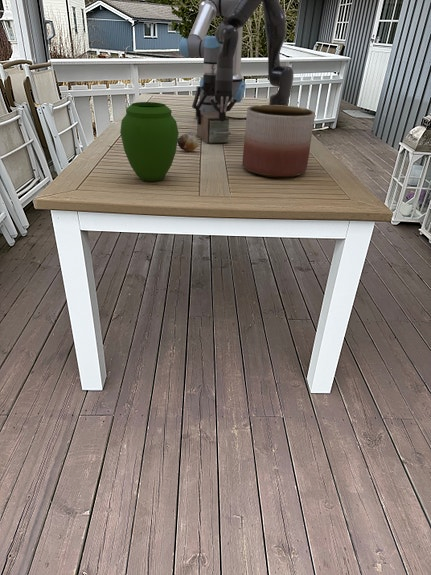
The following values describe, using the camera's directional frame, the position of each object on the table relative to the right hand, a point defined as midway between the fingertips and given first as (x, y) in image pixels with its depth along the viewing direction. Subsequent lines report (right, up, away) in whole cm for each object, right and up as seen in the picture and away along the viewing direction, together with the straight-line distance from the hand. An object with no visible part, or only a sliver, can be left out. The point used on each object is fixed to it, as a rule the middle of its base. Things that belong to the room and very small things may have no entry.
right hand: (221, 121), depth 188 cm
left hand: (-6, +6, +17) cm, 19 cm away
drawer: (-3, -4, +12) cm, 13 cm away
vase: (-26, -38, -41) cm, 61 cm away
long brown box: (-5, -2, +17) cm, 17 cm away
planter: (+20, -30, -25) cm, 44 cm away
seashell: (-15, -16, -6) cm, 23 cm away
